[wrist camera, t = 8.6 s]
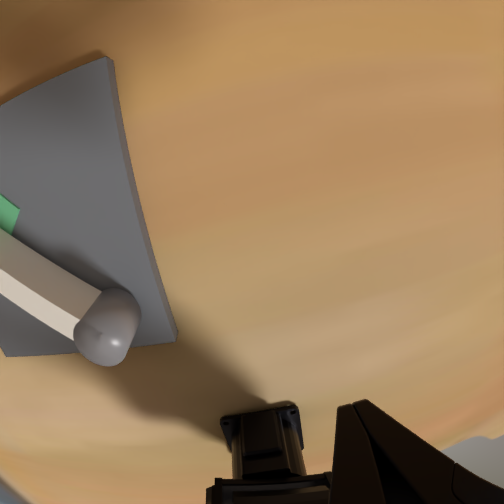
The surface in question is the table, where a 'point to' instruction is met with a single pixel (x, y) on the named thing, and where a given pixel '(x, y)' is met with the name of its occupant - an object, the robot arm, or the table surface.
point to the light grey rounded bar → (69, 303)
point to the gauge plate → (76, 203)
